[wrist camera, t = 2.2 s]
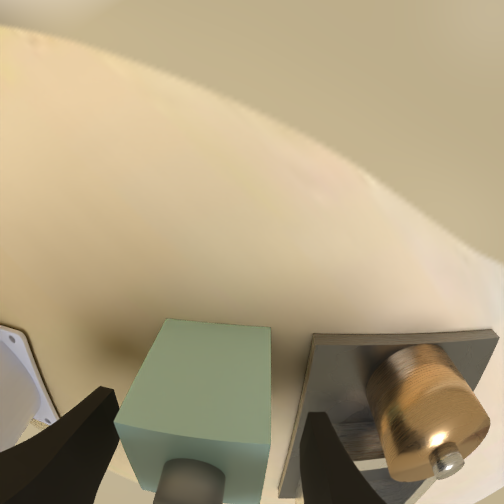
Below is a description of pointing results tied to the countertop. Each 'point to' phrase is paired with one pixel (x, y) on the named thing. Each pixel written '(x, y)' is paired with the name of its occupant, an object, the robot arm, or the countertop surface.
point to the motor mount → (396, 406)
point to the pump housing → (201, 414)
